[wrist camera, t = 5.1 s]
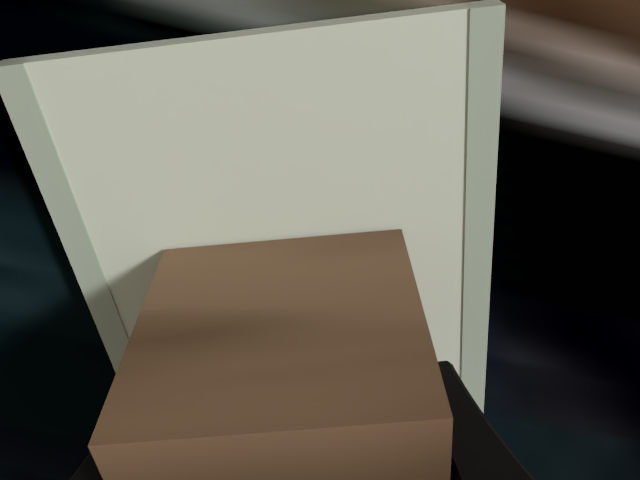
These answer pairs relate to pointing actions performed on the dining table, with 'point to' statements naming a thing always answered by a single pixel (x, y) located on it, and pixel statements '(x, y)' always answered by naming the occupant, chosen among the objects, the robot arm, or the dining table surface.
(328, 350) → the walnut cube
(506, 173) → the dining table surface
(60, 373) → the dining table surface
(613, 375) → the dining table surface
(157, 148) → the cream tray
